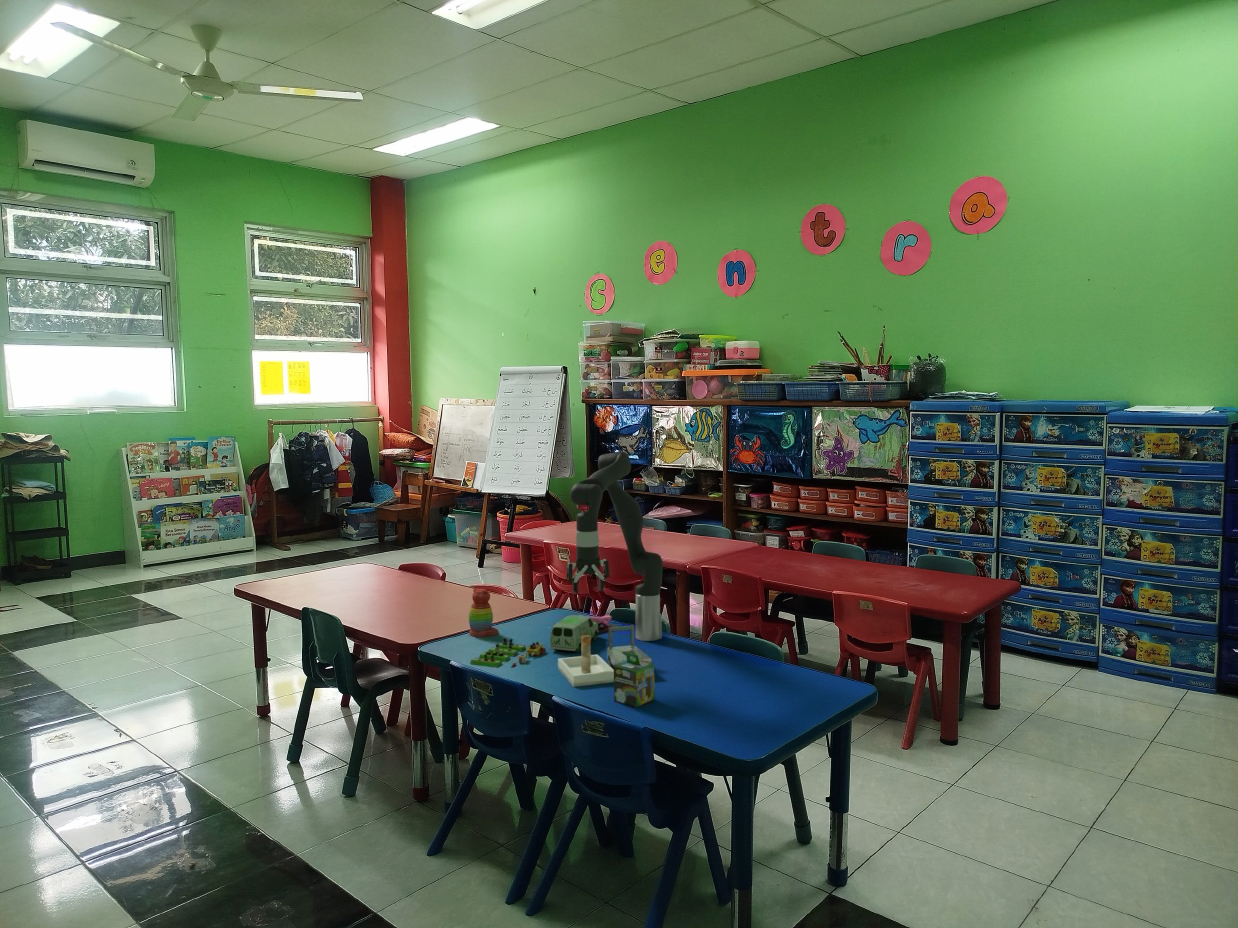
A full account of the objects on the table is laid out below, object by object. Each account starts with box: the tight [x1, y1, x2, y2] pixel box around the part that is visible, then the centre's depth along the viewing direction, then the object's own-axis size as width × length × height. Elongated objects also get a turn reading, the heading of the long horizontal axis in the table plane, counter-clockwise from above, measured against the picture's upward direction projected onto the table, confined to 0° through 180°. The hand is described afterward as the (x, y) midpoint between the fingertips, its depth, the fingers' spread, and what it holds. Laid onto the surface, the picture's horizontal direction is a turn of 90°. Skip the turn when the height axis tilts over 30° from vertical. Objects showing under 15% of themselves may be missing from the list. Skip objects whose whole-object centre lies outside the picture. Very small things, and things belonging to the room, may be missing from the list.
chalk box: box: [613, 652, 656, 708], centre depth 251 cm, size 9×9×15 cm
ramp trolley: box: [606, 624, 652, 668], centre depth 279 cm, size 10×16×13 cm, turn 19°
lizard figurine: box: [578, 614, 621, 636], centre depth 331 cm, size 15×20×7 cm
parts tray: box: [557, 654, 614, 688], centre depth 274 cm, size 14×19×4 cm
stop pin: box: [580, 635, 592, 674], centre depth 274 cm, size 3×3×12 cm
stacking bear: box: [468, 587, 499, 638], centre depth 324 cm, size 11×10×18 cm
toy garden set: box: [470, 637, 547, 668], centre depth 294 cm, size 23×19×5 cm
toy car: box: [549, 614, 599, 653], centre depth 310 cm, size 11×25×10 cm, turn 161°
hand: (588, 591), depth 276 cm, fingers open, 8 cm apart
